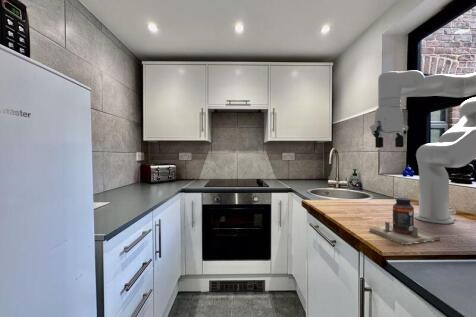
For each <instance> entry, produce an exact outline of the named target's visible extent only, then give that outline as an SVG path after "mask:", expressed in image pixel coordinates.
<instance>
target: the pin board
mask: <svg viewBox="0 0 476 317" xmlns="http://www.w3.org/2000/svg"><path fill="white" fill-rule="evenodd" d="M369 232H371V233H374V234H375V235H378V234H379V235H378V236H380V237H383V236H384V237H383V238H385V239H388V238H389V239H388V240H391V239H392V241H393V240H395V241H398V242H401V243H403V244H409V243H415V242H424V241H432V240H439V239H440V240H441V236H440V235H436V234H432V233H429V232H426V231H423V230H421V229H419V228H418V227H417V226H414V227H413V233H411V234H405V233H399V232H396V231H394V230H393V224H391V225H390V222H389V221H385V224H384V225H383V226H381V225H380V226H371V227H369ZM440 240H439V241H440ZM395 241H394V242H395ZM398 242H397V243H398ZM432 242H433V241H432ZM403 244H402V245H403Z"/></svg>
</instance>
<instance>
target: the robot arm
mask: <svg viewBox="0 0 476 317" xmlns="http://www.w3.org/2000/svg"><path fill="white" fill-rule="evenodd" d="M377 79H378V80H377V81H378V83H377V84H378V87H377V88H378V90H377V91H378V94H377V98H378V99H377V100H378V106H377V108H376V111H375V116H374V123H373V124H372V125H370V126H369V129H370V131H371V134H372V135H373V138H375V146H374V147H375V148H377V149H379V148H381V149H382V148H384V137H383V135H384V134H393V133H394V135H395V136H396V137H394V138H395V140H394V142H395V145H394V147H395V148H403V147H404V138H405V137H406V134H407V133H408V132H407V131H408V130H409V126H408V125H406V124H405V123H404V115H403V114H404V113H403V110H402V109H403V108H402V101H401V100H402V99H401V98H408V97H409V98H411V97H415V98H416V97H433V96H438V97H447V98H448V97H449V98H464V97H465V98H466V97H470V96H474V95H476V72H473V73H470V74H465V75H459V74H458V75H456V74H448V73H447V74H446V73H438V74H432V75H428V76H425V75H424V73H423V72H421V71H419V70H415V69H414V70H412V69H411V70H406V71H405V70H404V71H394V70H392V71H386V72H383V73H380V75H379V76H378V78H377ZM458 110H459V112H458V113H459V121H458V122H457V123H456V124H454V125H453V126H452V127H451V128H449V129H448V130H447V131H445V132H444V133H442V134H441V136H440V137H439V138H438V141H437V142H430V143H425V144H422V145H420V146H419V148H417V150H416V153H415V157H416V161H417V165H418V201H419V202H418V212H417V213H414V219H417V220H419V221H422V222H426V223H432V224H433V223H434V224H445V225H447V224H453V223H455V219H454V218H453V217H451V215H456V214H457V210H456V209H454V208H453V209H450V208H449V207H450V198H449V197H450V177H449V173H448V171H447V170H446V168H461V167H464V166H466V165H468V164H469V163H471V162H472V161H473V160H474V159H476V96H475V97H471V98H469V99H467V100H465V101H463V102H462V103H461V104H460V106H459V109H458Z"/></svg>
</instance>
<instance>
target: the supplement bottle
mask: <svg viewBox="0 0 476 317" xmlns="http://www.w3.org/2000/svg"><path fill="white" fill-rule="evenodd" d="M395 199H396V200H395V202H396V203H394V204H392V225H393V230H394V231H396V232H399V233H405V234H411V233H413V227H415V208H414V206H413V205H411V204H412V203H411V199H410V198H407V197H397V198H395Z"/></svg>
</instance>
